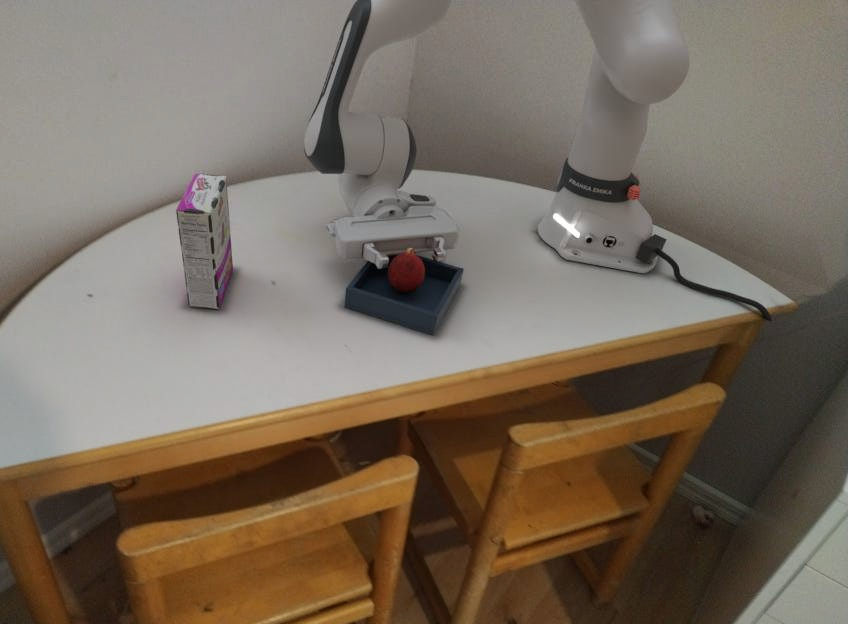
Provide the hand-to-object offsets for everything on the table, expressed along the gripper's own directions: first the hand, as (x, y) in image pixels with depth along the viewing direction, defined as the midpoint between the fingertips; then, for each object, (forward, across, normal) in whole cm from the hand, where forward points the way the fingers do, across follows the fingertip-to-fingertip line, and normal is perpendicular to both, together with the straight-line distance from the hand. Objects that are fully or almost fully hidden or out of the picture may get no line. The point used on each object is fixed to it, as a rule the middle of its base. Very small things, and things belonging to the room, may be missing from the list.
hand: (413, 261), depth 97 cm
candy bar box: (-9, -30, +7) cm, 32 cm away
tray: (-1, 0, +7) cm, 7 cm away
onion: (-1, 0, +7) cm, 7 cm away
